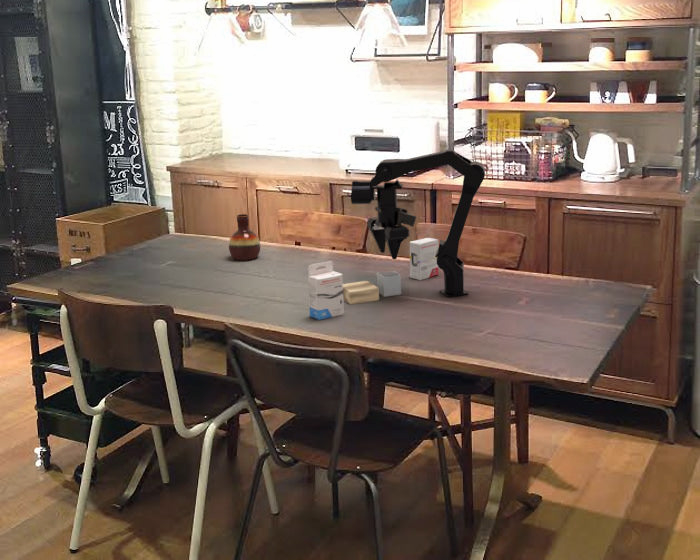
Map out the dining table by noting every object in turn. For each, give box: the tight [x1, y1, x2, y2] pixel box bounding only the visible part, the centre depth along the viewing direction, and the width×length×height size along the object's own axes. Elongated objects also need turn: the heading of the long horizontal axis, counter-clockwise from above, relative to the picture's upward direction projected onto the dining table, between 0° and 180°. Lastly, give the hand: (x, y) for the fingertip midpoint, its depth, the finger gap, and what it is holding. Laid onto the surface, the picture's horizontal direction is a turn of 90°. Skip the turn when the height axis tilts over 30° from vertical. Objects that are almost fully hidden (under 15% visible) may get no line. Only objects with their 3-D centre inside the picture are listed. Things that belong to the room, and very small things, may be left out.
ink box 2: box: [409, 237, 439, 281], centre depth 277 cm, size 9×5×12 cm, turn 129°
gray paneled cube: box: [376, 270, 402, 298], centre depth 262 cm, size 6×6×6 cm
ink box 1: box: [307, 260, 345, 321], centre depth 242 cm, size 8×5×15 cm, turn 125°
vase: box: [228, 213, 261, 261], centre depth 309 cm, size 11×11×15 cm
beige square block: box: [343, 280, 380, 305], centre depth 258 cm, size 9×9×4 cm
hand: (388, 255), depth 260 cm, fingers open, 9 cm apart
